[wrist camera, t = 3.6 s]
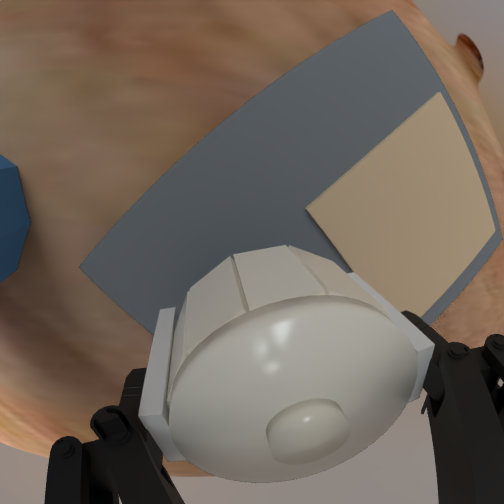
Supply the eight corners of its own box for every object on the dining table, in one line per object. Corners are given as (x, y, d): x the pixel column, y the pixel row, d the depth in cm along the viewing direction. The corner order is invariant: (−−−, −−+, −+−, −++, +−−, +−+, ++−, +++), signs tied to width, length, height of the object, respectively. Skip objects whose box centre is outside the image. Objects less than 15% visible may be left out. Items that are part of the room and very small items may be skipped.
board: (85, 259, 15) (3, 353, 7) (382, 15, 13) (478, -34, 4) (291, 421, 22) (322, 511, 13) (493, 235, 20) (571, 271, 11)
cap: (138, 330, 11) (108, 441, 6) (293, 204, 11) (377, 257, 5) (254, 419, 14) (276, 510, 9) (380, 332, 14) (446, 408, 8)
